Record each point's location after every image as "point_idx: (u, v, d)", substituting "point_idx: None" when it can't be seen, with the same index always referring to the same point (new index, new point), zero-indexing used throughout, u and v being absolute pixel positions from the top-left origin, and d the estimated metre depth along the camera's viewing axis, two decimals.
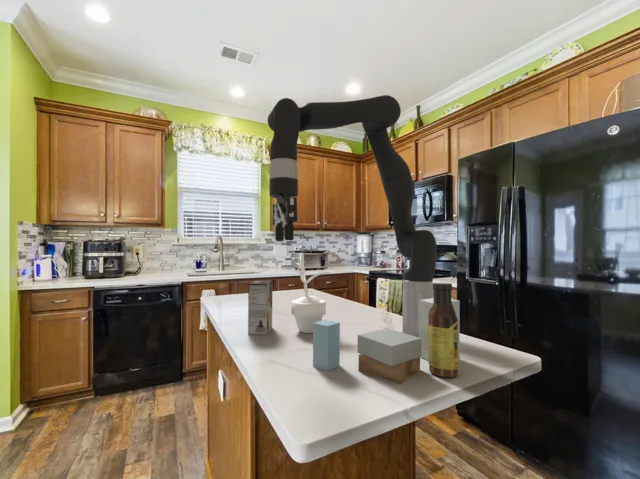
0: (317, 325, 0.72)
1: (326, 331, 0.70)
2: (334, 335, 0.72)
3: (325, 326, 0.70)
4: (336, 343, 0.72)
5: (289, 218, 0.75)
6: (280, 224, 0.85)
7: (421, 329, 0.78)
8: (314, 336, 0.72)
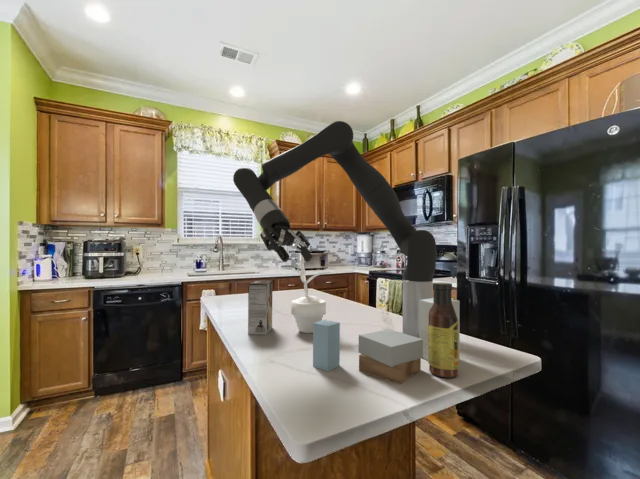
0: (317, 325, 0.72)
1: (326, 331, 0.70)
2: (334, 335, 0.72)
3: (325, 326, 0.70)
4: (336, 343, 0.72)
5: (268, 247, 0.80)
6: (301, 246, 0.88)
7: (421, 329, 0.78)
8: (314, 336, 0.72)
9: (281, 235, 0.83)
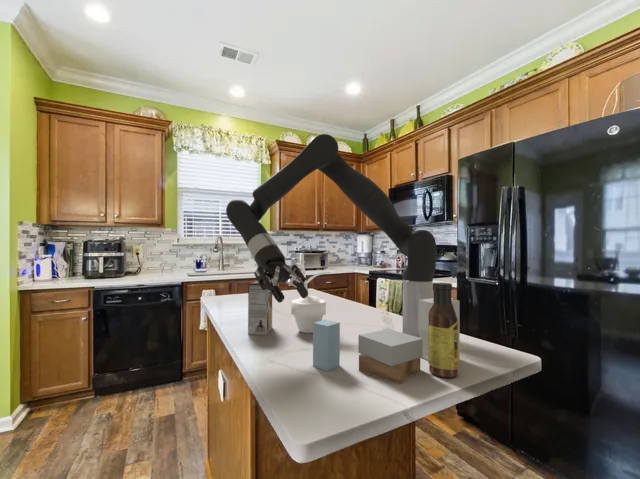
0: (317, 325, 0.72)
1: (326, 331, 0.70)
2: (334, 335, 0.72)
3: (325, 326, 0.70)
4: (336, 343, 0.72)
5: (262, 287, 0.77)
6: (297, 282, 0.85)
7: (421, 329, 0.78)
8: (314, 336, 0.72)
9: (276, 273, 0.81)
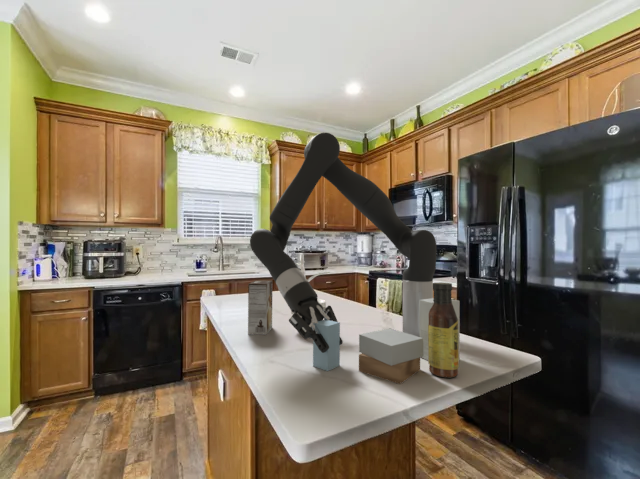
0: (317, 325, 0.72)
1: (326, 331, 0.70)
2: (334, 335, 0.72)
3: (325, 326, 0.70)
4: (336, 343, 0.72)
5: (304, 335, 0.70)
6: None
7: (421, 329, 0.78)
8: None
9: (313, 317, 0.73)
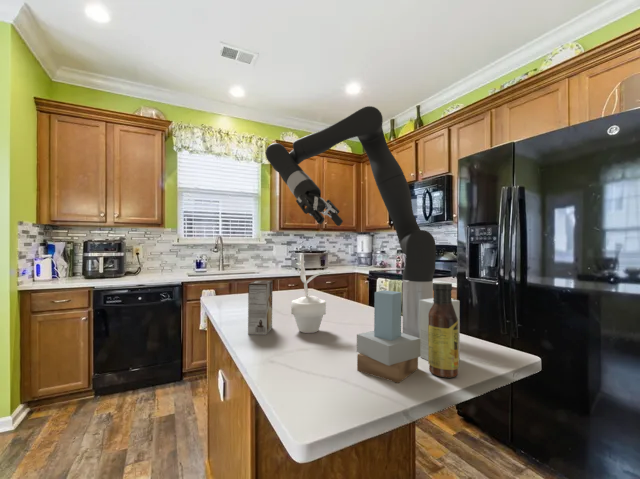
0: (379, 294, 0.70)
1: (390, 299, 0.68)
2: (397, 304, 0.70)
3: (389, 294, 0.68)
4: (399, 313, 0.70)
5: (304, 210, 0.88)
6: (332, 213, 0.96)
7: (421, 329, 0.78)
8: (376, 305, 0.70)
9: (315, 201, 0.91)
